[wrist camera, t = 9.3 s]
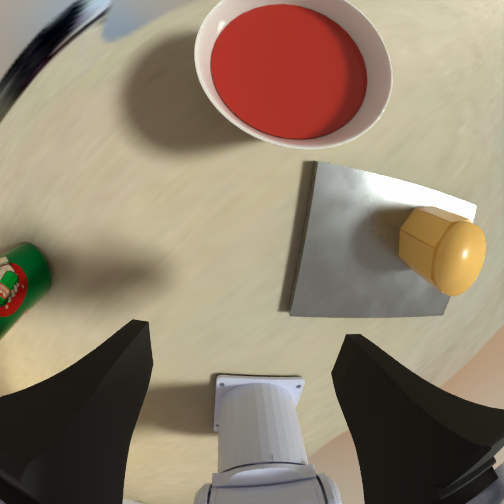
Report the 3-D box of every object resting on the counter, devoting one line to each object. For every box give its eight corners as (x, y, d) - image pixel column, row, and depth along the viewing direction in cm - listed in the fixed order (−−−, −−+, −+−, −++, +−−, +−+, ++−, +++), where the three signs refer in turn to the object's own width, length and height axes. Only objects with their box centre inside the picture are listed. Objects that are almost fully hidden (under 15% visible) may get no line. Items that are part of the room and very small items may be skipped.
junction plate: (438, 311, 22) (460, 332, 18) (287, 310, 20) (298, 342, 16) (470, 203, 18) (501, 214, 14) (314, 160, 17) (336, 162, 13)
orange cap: (452, 233, 18) (492, 252, 13) (419, 278, 19) (455, 307, 15) (424, 193, 17) (469, 207, 12) (388, 244, 18) (427, 271, 13)
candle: (182, 113, 15) (155, 91, 9) (250, 11, 13) (257, -40, 7) (306, 177, 17) (342, 188, 11) (363, 74, 15) (414, 48, 9)
